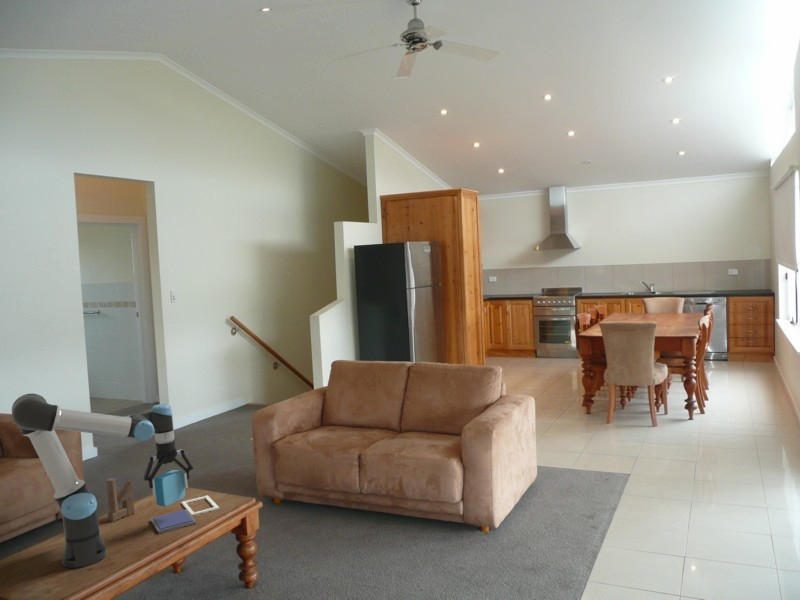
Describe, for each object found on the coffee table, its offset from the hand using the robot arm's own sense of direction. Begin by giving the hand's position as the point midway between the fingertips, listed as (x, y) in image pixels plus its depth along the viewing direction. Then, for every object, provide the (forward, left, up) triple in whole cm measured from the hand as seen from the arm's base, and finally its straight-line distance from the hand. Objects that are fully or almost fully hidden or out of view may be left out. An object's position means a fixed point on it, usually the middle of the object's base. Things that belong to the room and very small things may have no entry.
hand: (170, 491), depth 270 cm
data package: (0, 0, -5) cm, 5 cm away
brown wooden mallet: (-17, +23, -14) cm, 32 cm away
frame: (+14, +11, -13) cm, 22 cm away
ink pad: (0, 0, -13) cm, 13 cm away
